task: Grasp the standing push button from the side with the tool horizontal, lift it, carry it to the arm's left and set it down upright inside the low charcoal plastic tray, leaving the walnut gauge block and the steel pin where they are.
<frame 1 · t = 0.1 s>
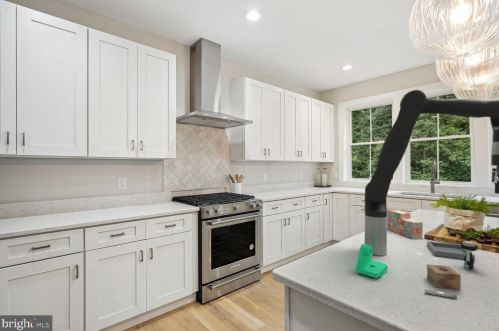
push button: (468, 268, 100), on the counter
camera mount: (372, 273, 96), on the counter
tray: (448, 252, 116), on the counter
gauge block: (442, 283, 87), on the counter
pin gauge: (440, 295, 79), on the counter
stack of blocks: (403, 233, 148), on the counter
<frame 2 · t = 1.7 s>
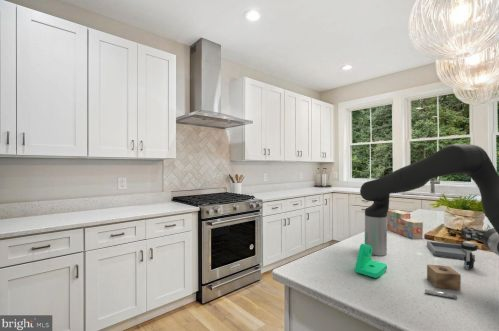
hand: (481, 230, 90), 18 cm above the counter, tool horizontal, fingers open, 8 cm apart
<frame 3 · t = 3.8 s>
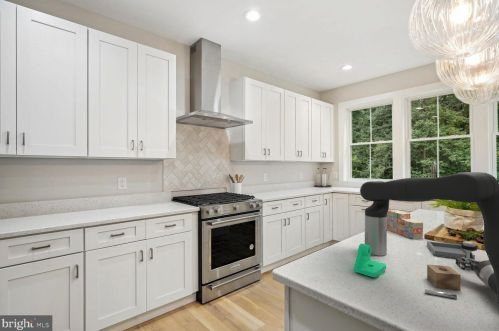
hand: (474, 258, 94), 6 cm above the counter, tool horizontal, fingers open, 8 cm apart
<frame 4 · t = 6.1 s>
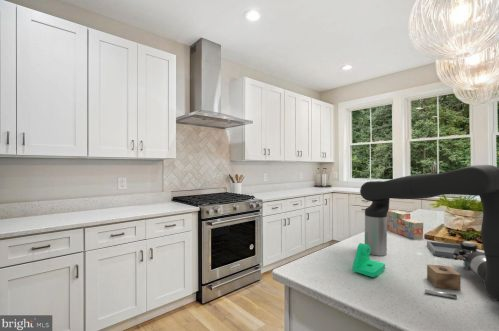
hand: (466, 250, 103), 6 cm above the counter, tool horizontal, fingers closed on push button, 3 cm apart
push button: (468, 268, 100), on the counter, touching gripper
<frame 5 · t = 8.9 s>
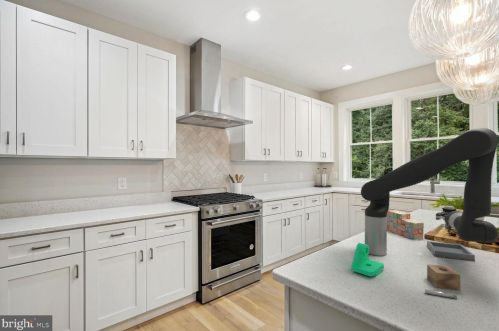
hand: (447, 214, 119), 17 cm above the counter, tool horizontal, fingers closed on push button, 3 cm apart
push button: (448, 228, 116), point 11 cm above the counter, touching gripper
when the fingers open (7 cm above the counter, at t = 11.7 s): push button moves 3 cm, resting on tray.
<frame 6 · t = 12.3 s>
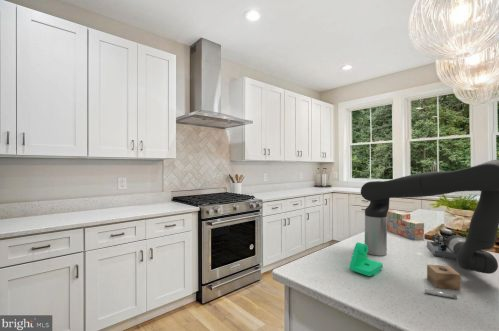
hand: (448, 236, 118), 7 cm above the counter, tool horizontal, fingers open, 8 cm apart
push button: (441, 250, 117), point 1 cm above the counter, touching gripper, tray
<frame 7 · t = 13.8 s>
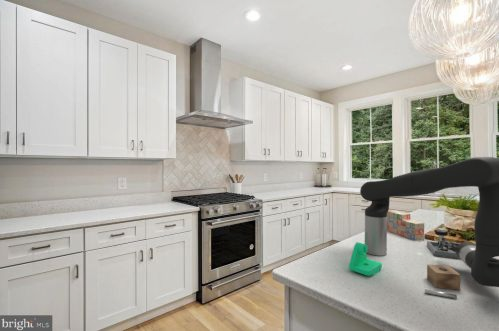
hand: (457, 242, 106), 8 cm above the counter, tool horizontal, fingers open, 8 cm apart
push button: (441, 251, 117), resting on tray
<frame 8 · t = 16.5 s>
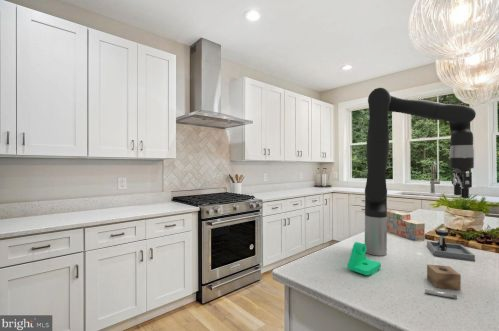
hand: (461, 196, 102), 28 cm above the counter, tool pointing down, fingers open, 8 cm apart
at the end: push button inside the target area on the tray (2.9 cm from its centre), point 0.4 cm above the tray's base; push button tilted 0°; the gripper is holding nothing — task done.
